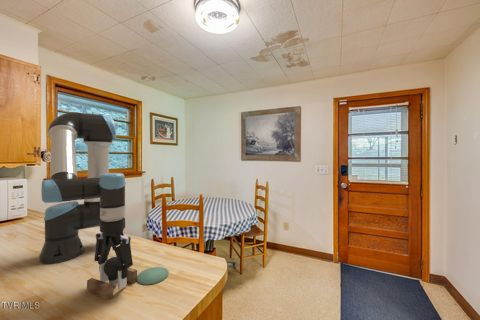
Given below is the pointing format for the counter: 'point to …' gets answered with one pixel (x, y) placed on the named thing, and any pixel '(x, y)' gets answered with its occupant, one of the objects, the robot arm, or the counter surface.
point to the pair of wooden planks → (107, 285)
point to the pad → (152, 275)
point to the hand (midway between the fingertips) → (113, 284)
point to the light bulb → (112, 270)
